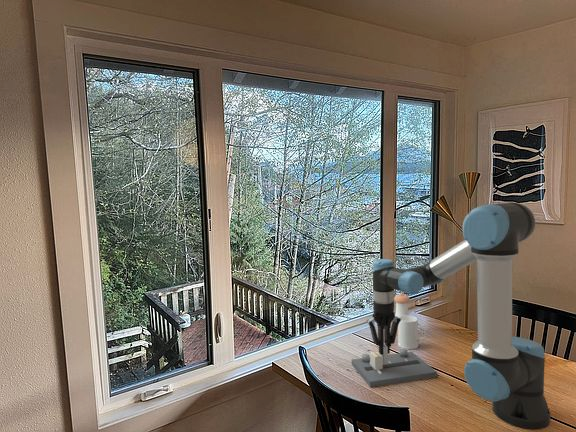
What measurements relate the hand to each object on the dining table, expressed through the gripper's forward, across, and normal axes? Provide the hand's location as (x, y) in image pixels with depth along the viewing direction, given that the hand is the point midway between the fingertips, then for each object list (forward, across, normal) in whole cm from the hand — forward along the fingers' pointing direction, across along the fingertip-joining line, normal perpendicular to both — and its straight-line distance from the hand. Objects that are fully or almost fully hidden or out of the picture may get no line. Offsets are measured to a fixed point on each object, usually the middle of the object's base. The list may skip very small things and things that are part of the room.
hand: (384, 361), depth 151 cm
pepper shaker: (+4, -24, -32) cm, 40 cm away
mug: (+4, -21, -18) cm, 28 cm away
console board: (+4, -3, 0) cm, 5 cm away
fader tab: (+2, +3, 0) cm, 4 cm away
